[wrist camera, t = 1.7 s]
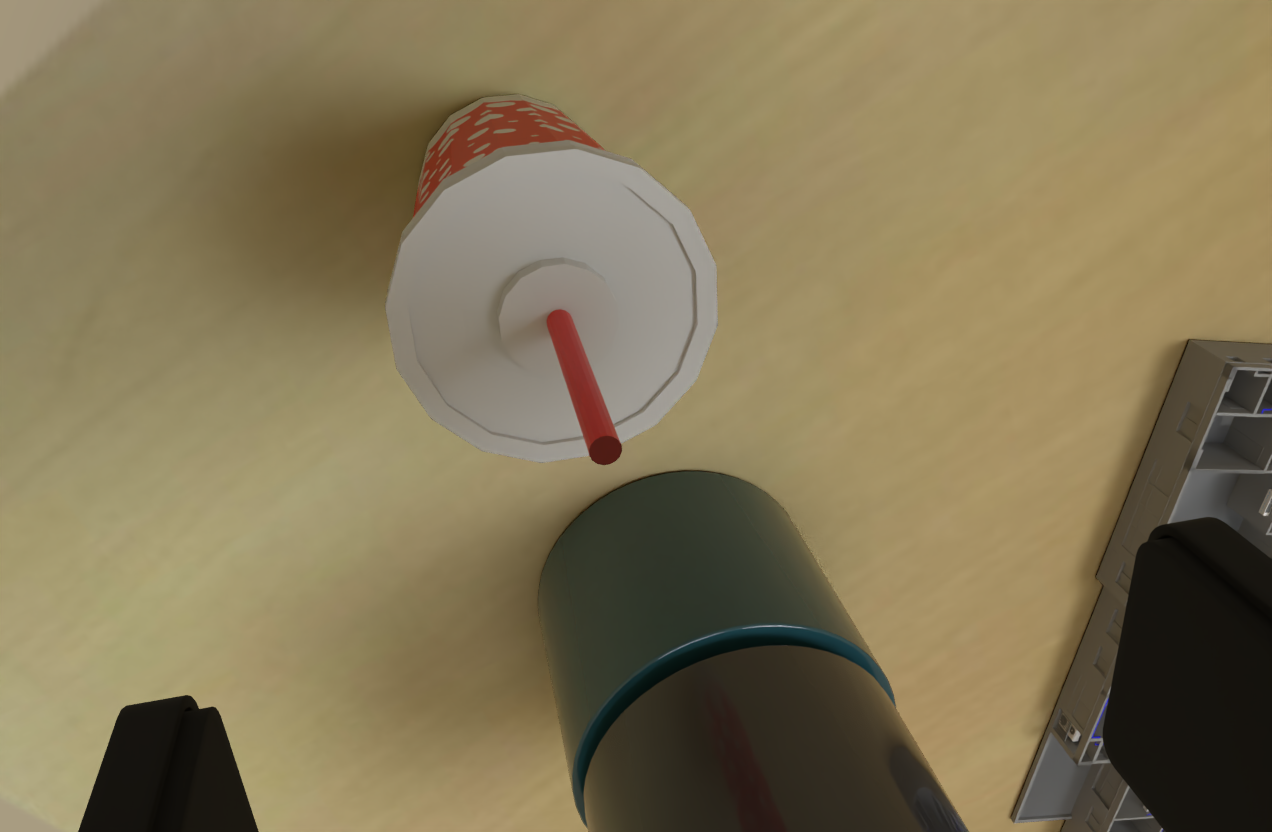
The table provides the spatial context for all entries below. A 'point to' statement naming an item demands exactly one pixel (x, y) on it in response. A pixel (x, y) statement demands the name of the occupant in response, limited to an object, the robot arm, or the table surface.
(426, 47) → the table surface
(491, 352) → the beverage cup
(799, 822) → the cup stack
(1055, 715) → the building model
